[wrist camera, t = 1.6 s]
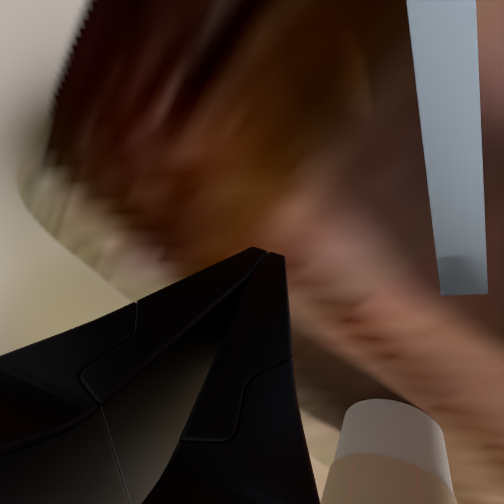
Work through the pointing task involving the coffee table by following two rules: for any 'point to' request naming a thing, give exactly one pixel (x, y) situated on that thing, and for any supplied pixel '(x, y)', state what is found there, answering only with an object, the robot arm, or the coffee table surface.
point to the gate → (451, 137)
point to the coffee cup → (389, 457)
